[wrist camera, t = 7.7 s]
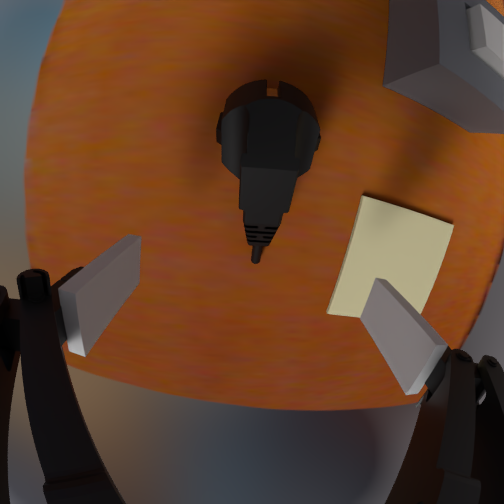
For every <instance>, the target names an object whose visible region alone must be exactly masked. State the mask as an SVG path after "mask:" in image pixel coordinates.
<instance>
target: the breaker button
mask: <svg viewBox="0 0 504 504" xmlns="http://www.w3.org/2000/svg"><path fill="white" fill-rule="evenodd" d="M466 14H467V21H468V30H469V41H470V52H472V53H473V54H474V55H476V56H477V57H478V58H479V59H481V60H482V61H483V62H484V63H485V64H487V65H488V66H489V67H490V68H491V69H492V70H494V71H495V72H496V73H497V74H498V75H499V76H500V77H501V78H502V79H504V24H502V23H501V22H500V21H499V20H498V19H497V18H496V17H495V16H494V15H493V14H492V13H490V12H489V11H488V10H487V9H486V8H485V7H483V6H482V5H481V4H478V5H476V6H474V7H471V8H469V9H467V10H466Z"/></svg>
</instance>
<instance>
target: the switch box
mask: <svg viewBox="0 0 504 504" xmlns="http://www.w3.org/2000/svg"><path fill="white" fill-rule="evenodd" d="M478 4H481V5H482V6H483V7H485V8H486V9H487V10H488V11H489V12H490V13H492V14H493V15H494V16H495V17H496V18H497V19H498V20H499V21H500V22H501V23H502V24H504V17H503V16H502V15H501V14H500V13H499V12H498V11H497V10H496V9H495V8H494V7H492V6H491V5H490V4H489V3H488V2H487V1H486V0H389V25H388V40H387V52H386V62H385V71H384V80H383V86H384V87H386V88H388V89H391V90H393V91H395V92H397V93H399V94H402V95H404V96H406V97H408V98H410V99H412V100H414V101H416V102H418V103H420V104H422V105H424V106H426V107H428V108H430V109H432V110H433V111H435V112H437V113H439V114H441V115H442V116H444V117H446V118H447V119H449V120H451V121H452V122H454V123H456V124H457V125H459V126H461V127H462V128H464V129H465V130H467V131H468V132H473V133H498V134H504V79H502V78H501V77H500V76H499V75H498V74H497V73H496V72H495V71H494V70H492V69H491V68H490V67H489V66H488V65H487V64H485V63H484V62H483V61H482V60H481V59H479V58H478V57H477V56H476V55H474V54H473V53H472V52H470V41H469V30H468V21H467V14H466V10H467V9H469V8H471V7H474V6H476V5H478Z"/></svg>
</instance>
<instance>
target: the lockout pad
mask: <svg viewBox="0 0 504 504" xmlns="http://www.w3.org/2000/svg"><path fill="white" fill-rule="evenodd" d="M453 227H454V225H452V224H449V223H446V222H444V221H441V220H438V219H435V218H432V217H430V216H427V215H424V214H421V213H418V212H415V211H412V210H409V209H406V208H403V207H399V206H396V205H393V204H390V203H387V202H383V201H380V200H377V199H373V198H370V197H366V196H363V195H362V196H361V200H360V204H359V208H358V212H357V215H356V219H355V223H354V226H353V230H352V234H351V237H350V241H349V244H348V247H347V251H346V254H345V257H344V260H343V264H342V267H341V270H340V273H339V276H338V279H337V282H336V285H335V288H334V291H333V294H332V297H331V300H330V303H329V306H328V308H327V314H334V315H343V316H352V317H361V314H362V312H363V309H364V307H365V304H366V302H367V299H368V297H369V294H370V291H371V289H372V286H373V283H374V280H375V278H381V279H386V280H387V281H388V282H389V283H390V284H391V285H392V286H393V287H394V288H395V289H396V290H397V291H398V292H399V293H400V294H401V295H402V296H403V297H404V298H405V299H406V300H407V301H408V302H409V303H410V304H411V305H412V306H413V307H414V308H415V309H416V310H417V311H418V313H419V314H421V312H422V310H423V308H424V306H425V303H426V301H427V299H428V296H429V294H430V292H431V289H432V287H433V284H434V282H435V279H436V277H437V274H438V272H439V269H440V266H441V264H442V261H443V258H444V255H445V252H446V249H447V246H448V243H449V240H450V237H451V234H452V230H453Z"/></svg>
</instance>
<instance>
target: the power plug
mask: <svg viewBox="0 0 504 504" xmlns="http://www.w3.org/2000/svg"><path fill="white" fill-rule="evenodd" d="M319 132H320V127H319V124H318V120H317V117H316V114H315V111H314V108H313V105H312V103H311V102H310V100H309V99H308V97H307V96H306V95H305V94H304V93H303V92H302V91H301V90H299V89H298V88H296V87H294V86H293V85H290V84H288V83H285V82H282V81H279V87H278V89H272V88H267V80H258V81H253V82H250V83H247V84H245V85H243V86H241V87H239V88H238V89H236V90H235V91H234V92H233V93H232V94H231V95H230V96H229V97H228V98H227V100H226V104H225V108H224V112H221V113H220V117H219V121H218V124H217V128H216V137H217V142H218V143H219V144H221V145H222V163H223V164H224V166H225V167H226V168H227V169H228V170H229V171H231V172H232V173H233V174H234V175H235V176H236V177H237V178H238V179H240V187H239V209H242V210H244V211H243V223H244V228H245V233H246V238H247V243H248V244H249V245H252V246H253V248H252V256H251V261H252V263H254V264H257V263H259V262H260V258H261V252H262V246H268V245H269V244H270V242H271V240H272V239H273V236H274V235H275V233H276V231H277V230H278V227H279V226H280V224H281V220H282V216H283V213H288V212H289V209H290V205H291V200H292V196H293V192H294V188H295V184H296V180H297V178H298V177H299V176H301V175H303V174H304V173H305V172H307V171H308V170H309V169H310V166H311V162H312V159H313V155H314V152H315V151H316V150H318V147H319V143H320V139H321V137H320V133H319Z"/></svg>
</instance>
